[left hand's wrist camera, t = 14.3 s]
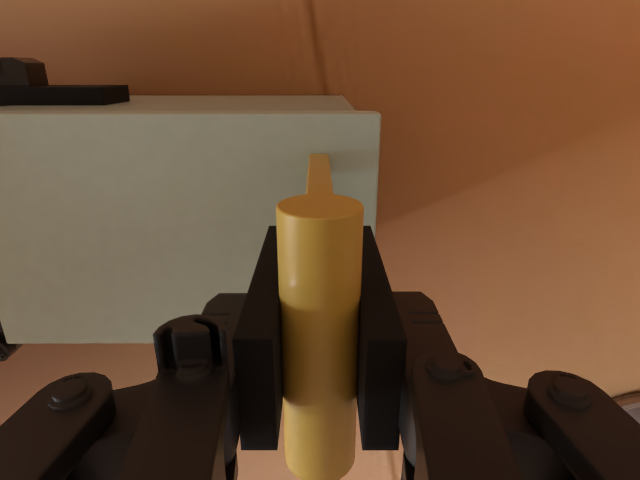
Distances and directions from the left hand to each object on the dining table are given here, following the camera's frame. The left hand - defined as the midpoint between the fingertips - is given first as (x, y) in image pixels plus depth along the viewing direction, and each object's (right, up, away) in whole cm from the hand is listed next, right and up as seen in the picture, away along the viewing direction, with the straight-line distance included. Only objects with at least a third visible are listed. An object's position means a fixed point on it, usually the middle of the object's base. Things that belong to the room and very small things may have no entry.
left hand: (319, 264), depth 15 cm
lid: (-5, +1, +3) cm, 6 cm away
